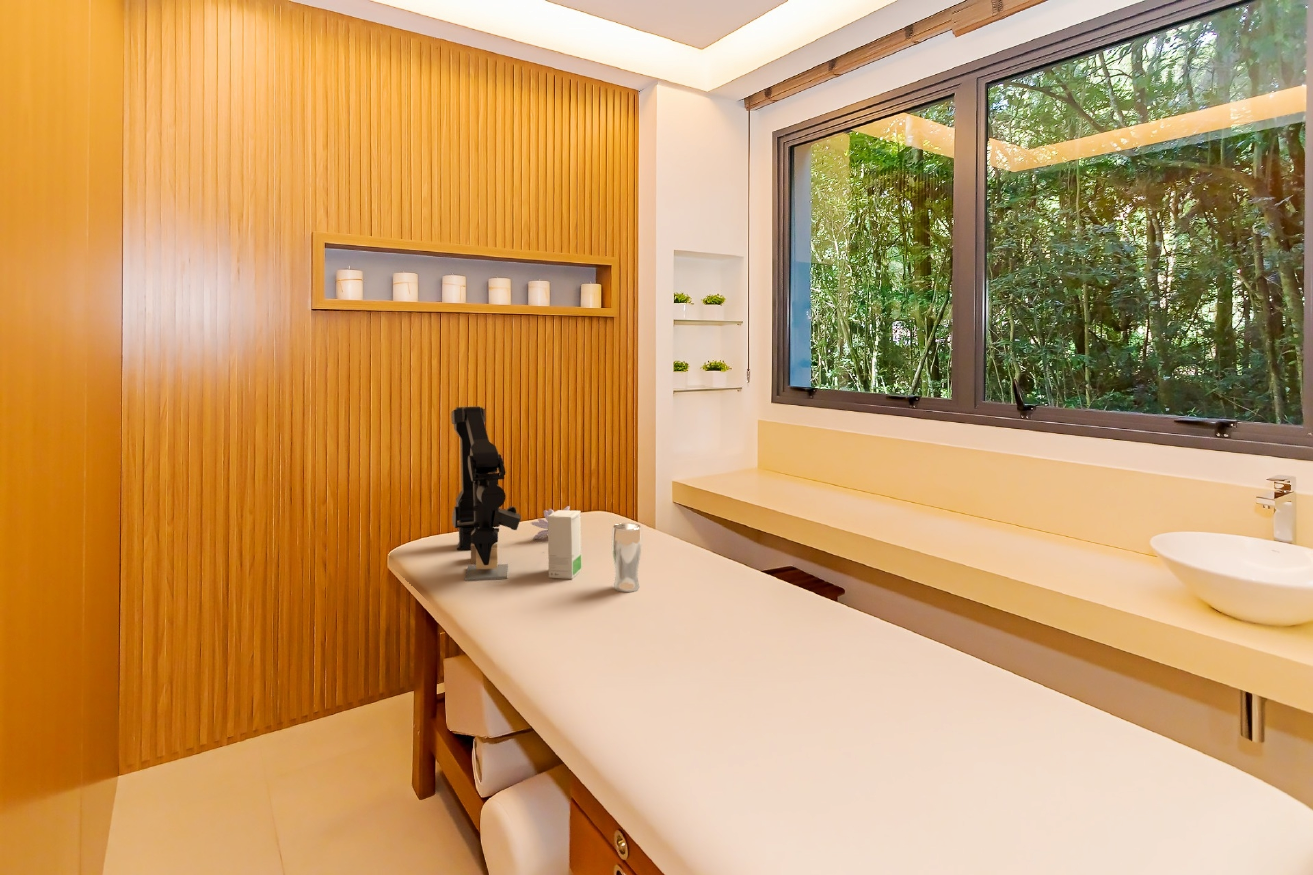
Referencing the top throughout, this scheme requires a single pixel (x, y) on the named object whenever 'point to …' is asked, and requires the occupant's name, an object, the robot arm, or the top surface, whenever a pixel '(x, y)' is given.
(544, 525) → the water lily
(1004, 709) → the top surface
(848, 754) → the top surface
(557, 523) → the skincare box
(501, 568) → the slate coaster
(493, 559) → the oak cube
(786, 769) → the top surface
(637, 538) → the beer glass
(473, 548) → the walnut cube
